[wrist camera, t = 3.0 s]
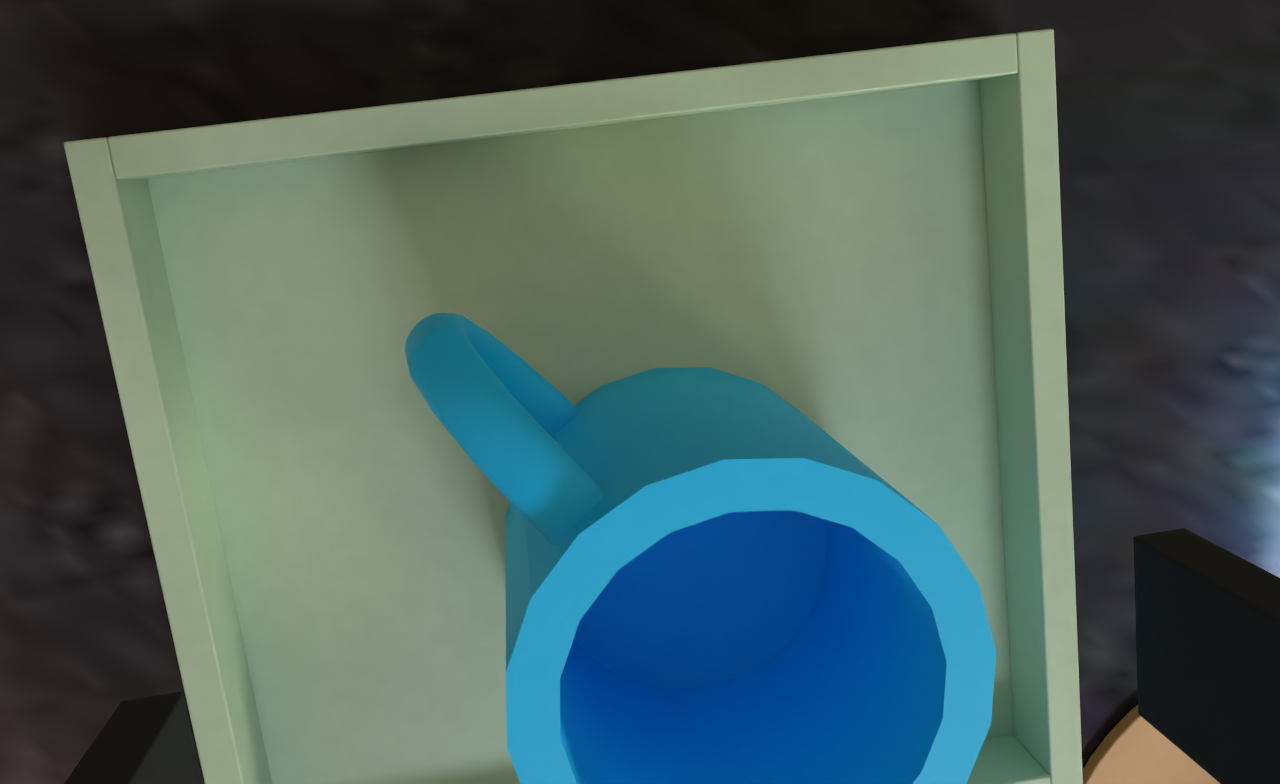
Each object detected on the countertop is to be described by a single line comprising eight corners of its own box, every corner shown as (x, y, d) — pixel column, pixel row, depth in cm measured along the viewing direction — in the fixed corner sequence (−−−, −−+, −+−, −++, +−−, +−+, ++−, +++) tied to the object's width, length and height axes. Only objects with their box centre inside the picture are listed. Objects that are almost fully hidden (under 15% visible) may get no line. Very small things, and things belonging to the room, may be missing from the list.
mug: (918, 531, 27) (1092, 683, 19) (675, 764, 27) (745, 1009, 19) (562, 165, 24) (591, 164, 16) (300, 431, 25) (202, 555, 17)
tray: (1001, 41, 25) (1054, 28, 23) (1035, 747, 29) (1084, 800, 27) (108, 144, 24) (61, 142, 21) (265, 882, 27) (241, 952, 25)
